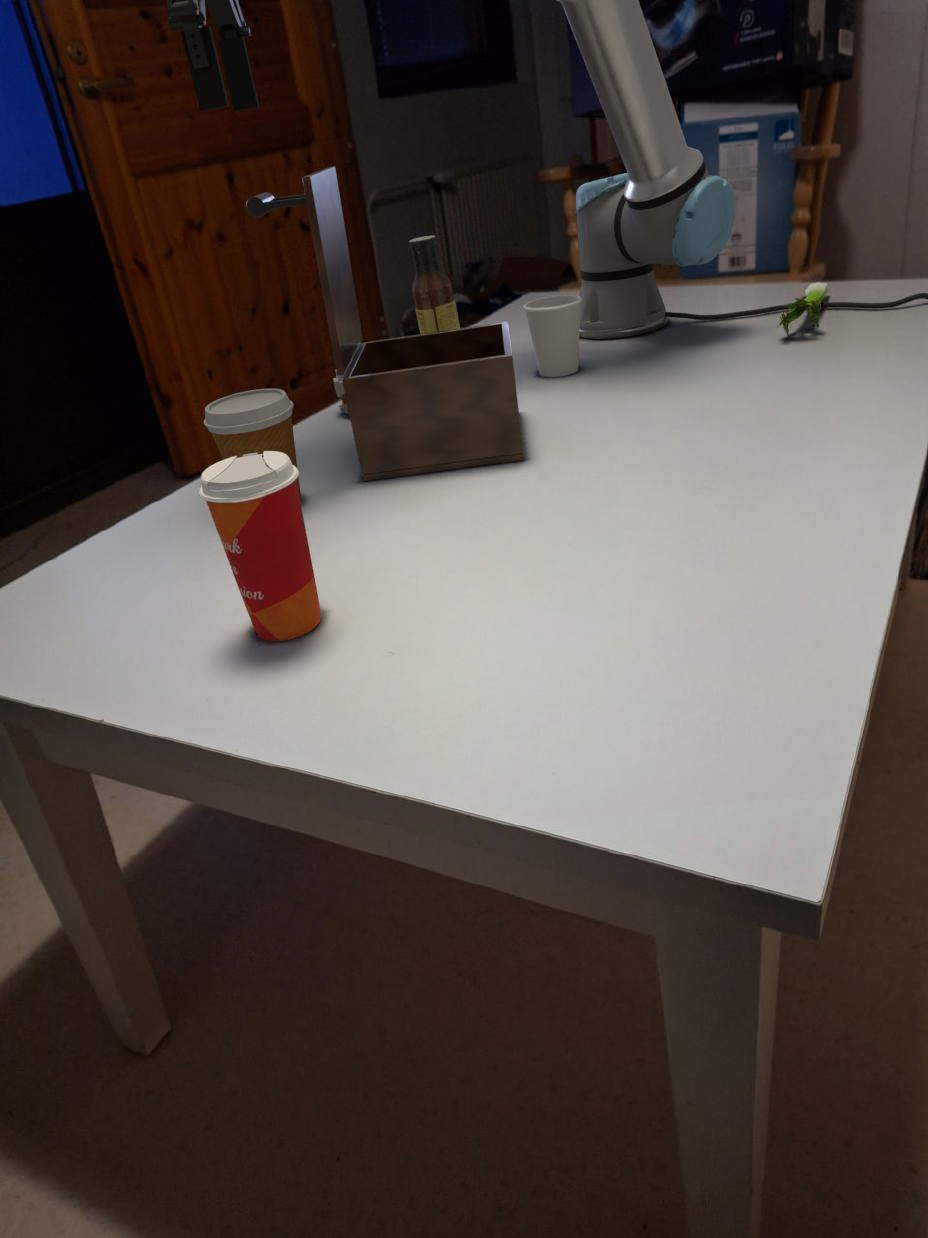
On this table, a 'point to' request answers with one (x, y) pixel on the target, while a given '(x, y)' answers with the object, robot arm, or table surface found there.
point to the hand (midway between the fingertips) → (231, 109)
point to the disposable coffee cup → (253, 424)
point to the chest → (434, 402)
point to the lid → (326, 257)
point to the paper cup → (265, 541)
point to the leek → (806, 305)
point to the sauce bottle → (432, 289)
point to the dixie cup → (555, 333)
